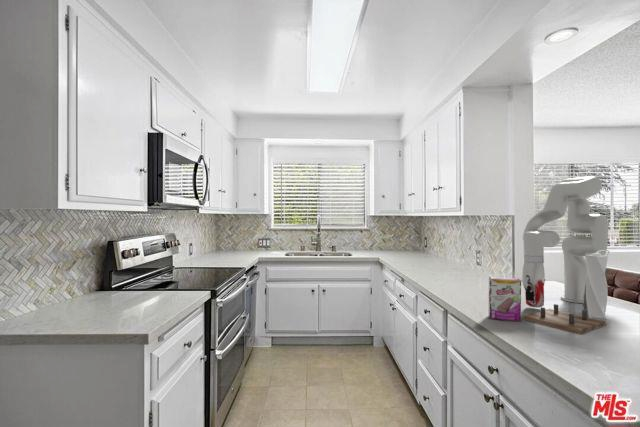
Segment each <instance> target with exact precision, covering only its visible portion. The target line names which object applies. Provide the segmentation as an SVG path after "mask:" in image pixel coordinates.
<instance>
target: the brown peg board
mask: <svg viewBox="0 0 640 427" xmlns="http://www.w3.org/2000/svg"><path fill="white" fill-rule="evenodd" d="M522 320H525V321H528V322H532V323H536V324H539V325H544V326H548V327H551V328H556V329H560V330H563V331H567V332H571V333H575V334H578V333H579V335H582V334H585V333H588V332H590V331H593V330H596V329H599V328H602V327H604V326H607V320H605V319H598V318H591V317H587V311H586V310H583V309H582V310H581V315H579V314H575V313H571V312H567V311H561V310H559V304H555V303H554V304H553V309H552V308H547V309H546V307H543V306H542V307H540V310H539V311H535V312H532V313H527V314H523V315H522Z"/></svg>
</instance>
